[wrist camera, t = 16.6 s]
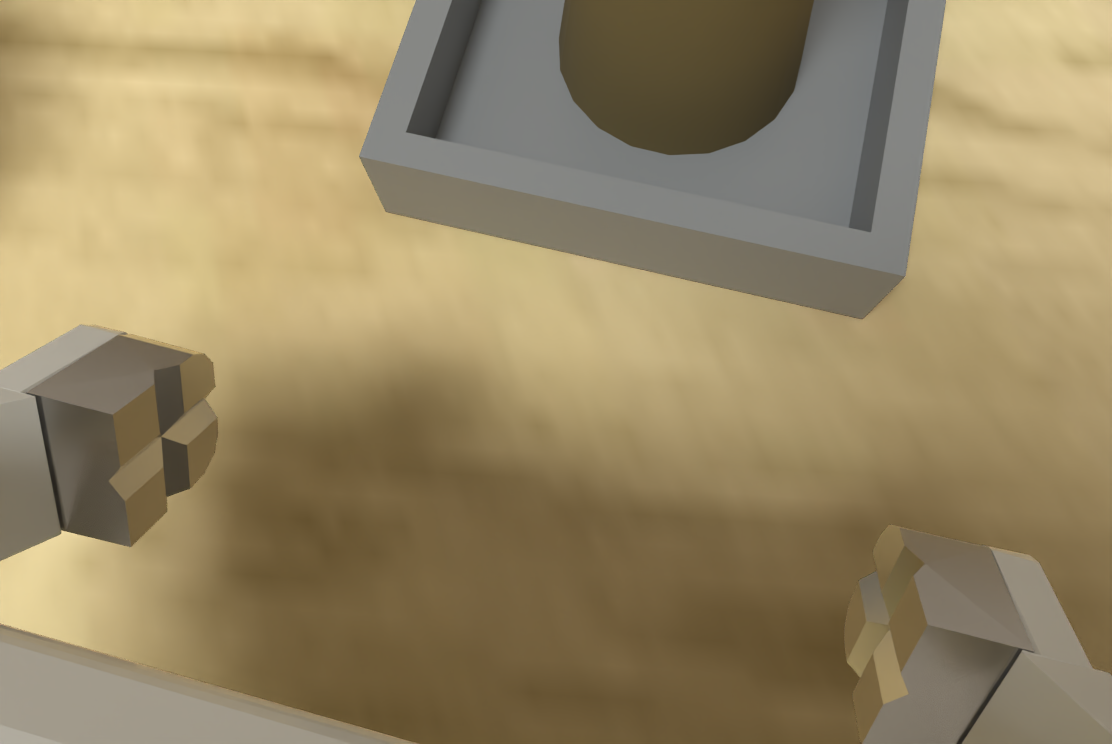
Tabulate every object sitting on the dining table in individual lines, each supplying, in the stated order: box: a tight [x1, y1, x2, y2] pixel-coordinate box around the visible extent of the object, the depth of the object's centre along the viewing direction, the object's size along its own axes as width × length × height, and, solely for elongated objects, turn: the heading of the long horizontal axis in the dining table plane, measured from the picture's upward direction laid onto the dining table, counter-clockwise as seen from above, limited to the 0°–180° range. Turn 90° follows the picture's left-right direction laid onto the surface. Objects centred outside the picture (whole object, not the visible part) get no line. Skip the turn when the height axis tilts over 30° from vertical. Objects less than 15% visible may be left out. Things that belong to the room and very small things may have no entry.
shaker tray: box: [359, 0, 946, 319], centre depth 19 cm, size 12×12×2 cm
